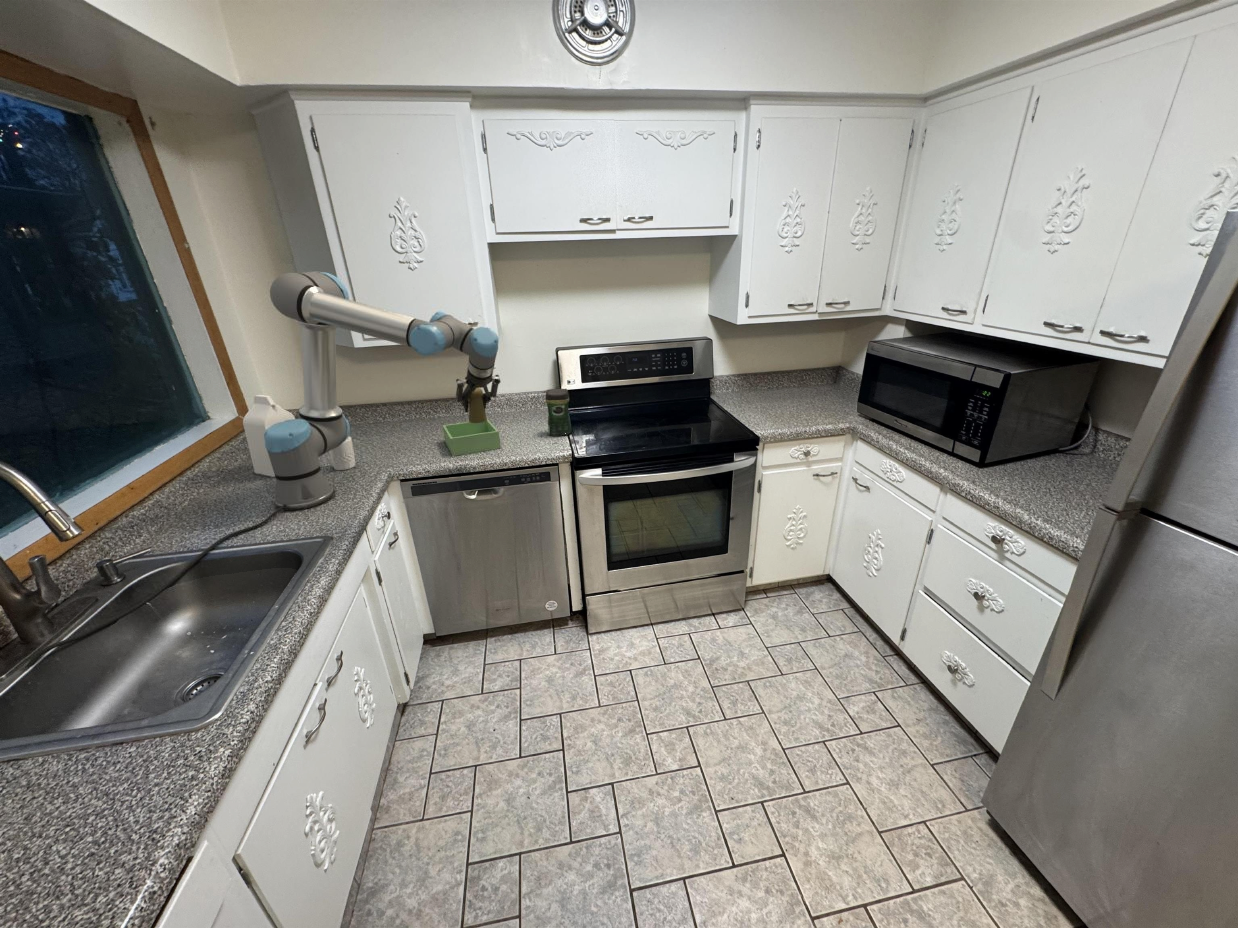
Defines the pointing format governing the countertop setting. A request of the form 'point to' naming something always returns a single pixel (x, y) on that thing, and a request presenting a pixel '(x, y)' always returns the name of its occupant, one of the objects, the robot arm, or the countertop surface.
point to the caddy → (471, 437)
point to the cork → (476, 407)
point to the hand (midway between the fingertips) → (474, 407)
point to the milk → (262, 430)
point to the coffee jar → (558, 412)
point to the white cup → (343, 455)
